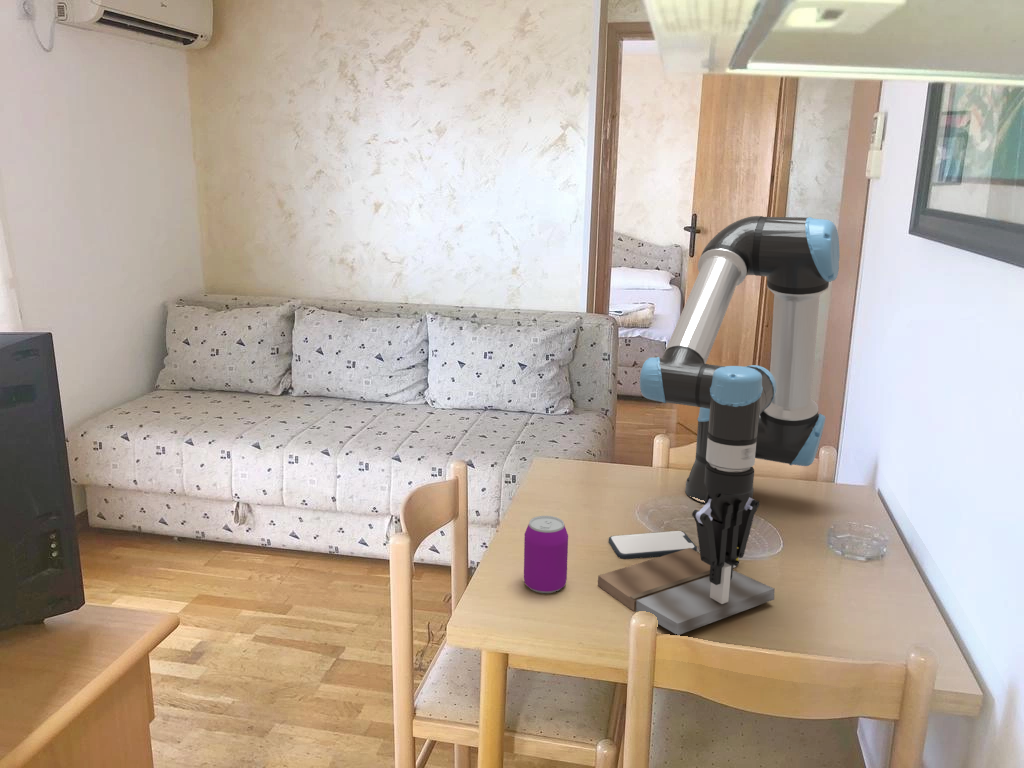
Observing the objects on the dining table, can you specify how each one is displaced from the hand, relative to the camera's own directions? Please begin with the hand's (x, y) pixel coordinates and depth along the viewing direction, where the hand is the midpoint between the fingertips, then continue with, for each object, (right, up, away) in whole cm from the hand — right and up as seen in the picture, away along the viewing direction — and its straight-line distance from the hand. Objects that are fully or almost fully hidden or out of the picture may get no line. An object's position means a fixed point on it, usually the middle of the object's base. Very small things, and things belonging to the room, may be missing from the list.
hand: (719, 599), depth 132 cm
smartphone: (-7, +3, +26) cm, 27 cm away
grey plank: (-1, -2, +3) cm, 4 cm away
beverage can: (-28, 0, +11) cm, 30 cm away
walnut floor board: (-7, 0, +12) cm, 14 cm away
